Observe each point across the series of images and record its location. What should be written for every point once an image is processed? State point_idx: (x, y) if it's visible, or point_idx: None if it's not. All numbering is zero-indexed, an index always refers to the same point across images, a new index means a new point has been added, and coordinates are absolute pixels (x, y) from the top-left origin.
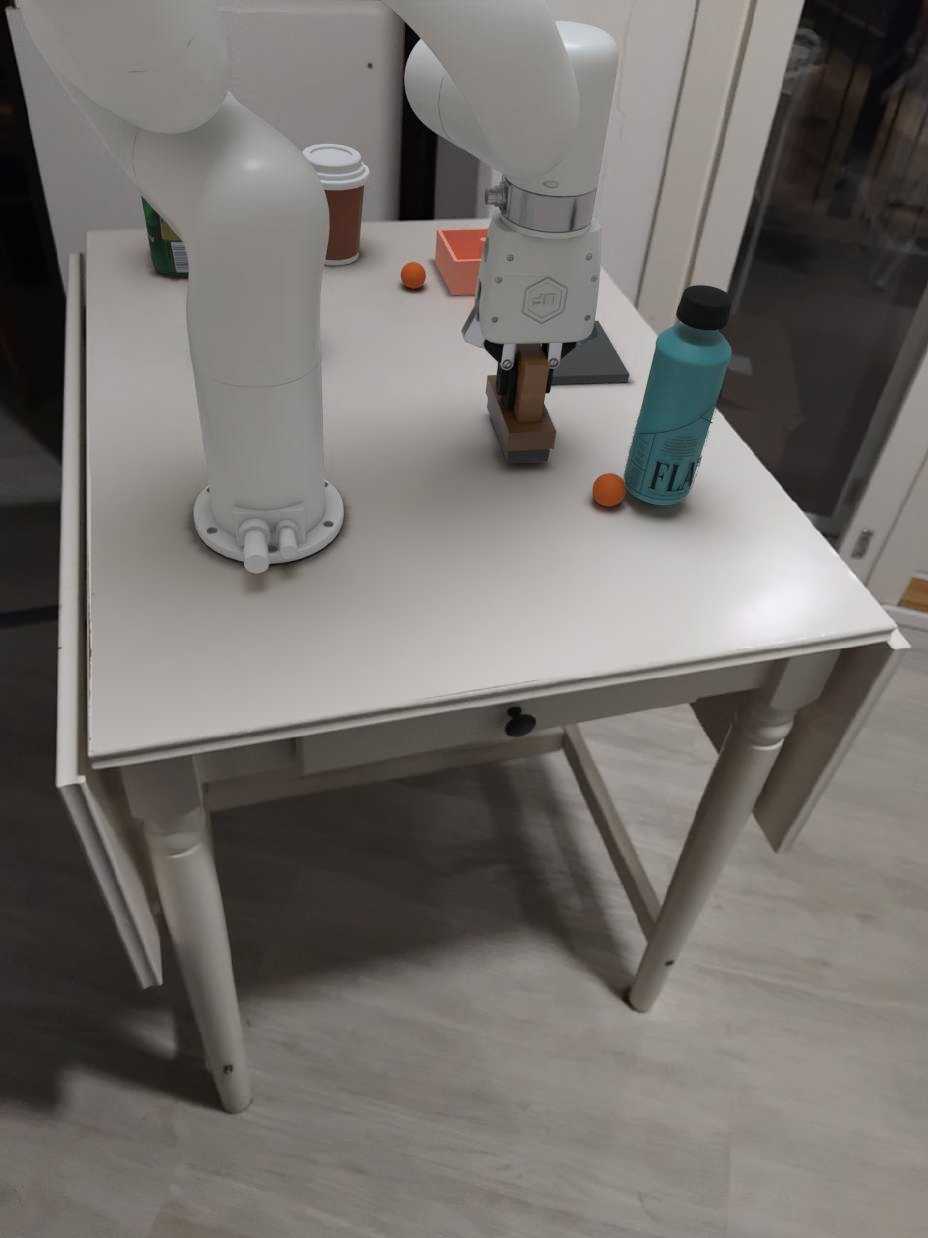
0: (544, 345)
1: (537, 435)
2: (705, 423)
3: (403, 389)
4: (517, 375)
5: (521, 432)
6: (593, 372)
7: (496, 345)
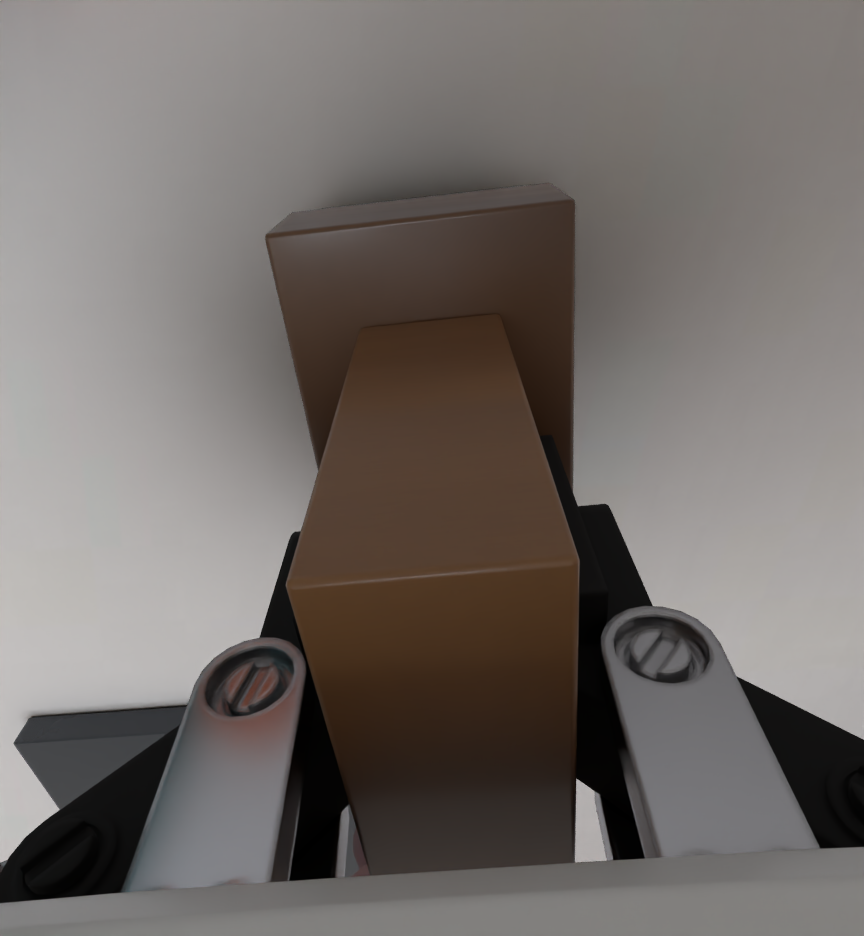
0: (318, 839)
1: (386, 217)
2: None
3: (784, 660)
4: None
5: (493, 214)
6: (137, 746)
7: (847, 819)
